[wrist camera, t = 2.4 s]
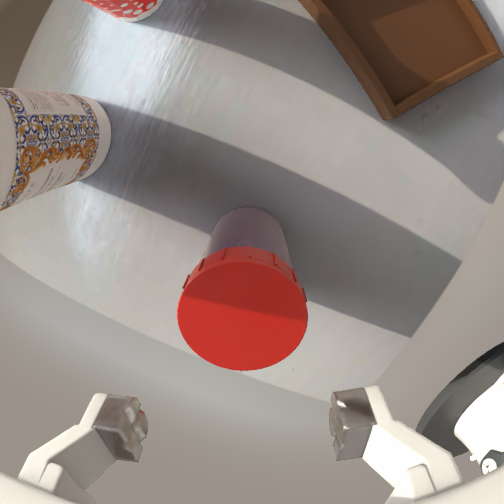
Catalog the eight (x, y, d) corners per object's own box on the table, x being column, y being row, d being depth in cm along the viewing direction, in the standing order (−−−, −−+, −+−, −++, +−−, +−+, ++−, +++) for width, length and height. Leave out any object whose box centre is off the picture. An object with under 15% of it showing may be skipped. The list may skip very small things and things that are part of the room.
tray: (416, -52, 14) (425, -60, 12) (491, 59, 18) (504, 56, 16) (289, -10, 17) (292, -20, 16) (382, 119, 21) (393, 119, 19)
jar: (282, 203, 23) (301, 256, 14) (285, 272, 25) (302, 358, 16) (207, 209, 24) (173, 265, 14) (216, 277, 26) (194, 363, 16)
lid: (302, 240, 15) (308, 255, 13) (303, 345, 17) (307, 367, 15) (175, 249, 15) (165, 265, 13) (194, 350, 17) (189, 372, 15)
